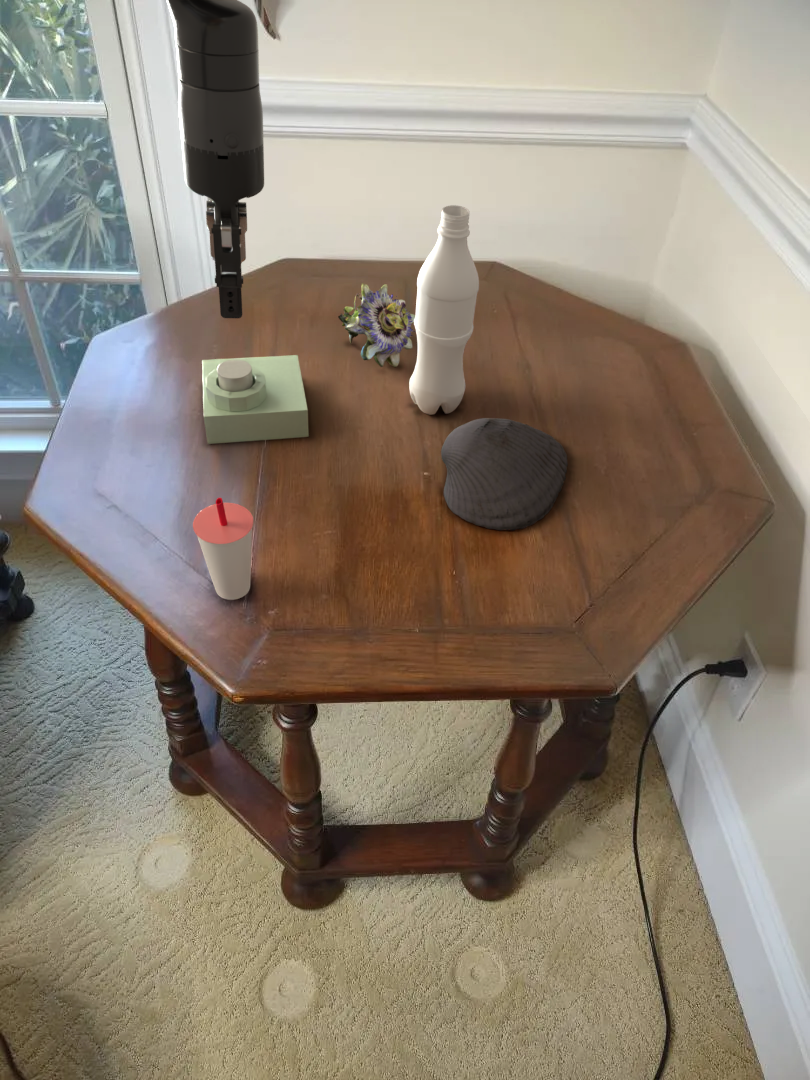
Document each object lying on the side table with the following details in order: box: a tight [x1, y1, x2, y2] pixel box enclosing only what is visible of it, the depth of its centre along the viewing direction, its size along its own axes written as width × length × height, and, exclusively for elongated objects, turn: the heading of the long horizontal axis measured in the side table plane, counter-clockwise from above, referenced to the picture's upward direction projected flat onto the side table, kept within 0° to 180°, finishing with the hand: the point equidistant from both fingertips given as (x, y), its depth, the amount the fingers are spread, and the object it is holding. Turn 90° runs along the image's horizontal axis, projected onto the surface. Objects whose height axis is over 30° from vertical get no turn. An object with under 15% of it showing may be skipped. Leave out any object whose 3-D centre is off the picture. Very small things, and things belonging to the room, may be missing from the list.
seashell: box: [440, 417, 569, 531], centre depth 88 cm, size 14×19×8 cm
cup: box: [192, 497, 254, 601], centre depth 72 cm, size 5×5×12 cm
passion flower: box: [338, 283, 416, 368], centre depth 105 cm, size 11×11×12 cm
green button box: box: [201, 354, 310, 445], centre depth 94 cm, size 12×12×6 cm
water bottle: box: [408, 204, 480, 415], centre depth 91 cm, size 7×7×25 cm
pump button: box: [217, 360, 253, 392], centre depth 90 cm, size 4×4×2 cm
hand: (231, 296), depth 83 cm, fingers open, 8 cm apart
